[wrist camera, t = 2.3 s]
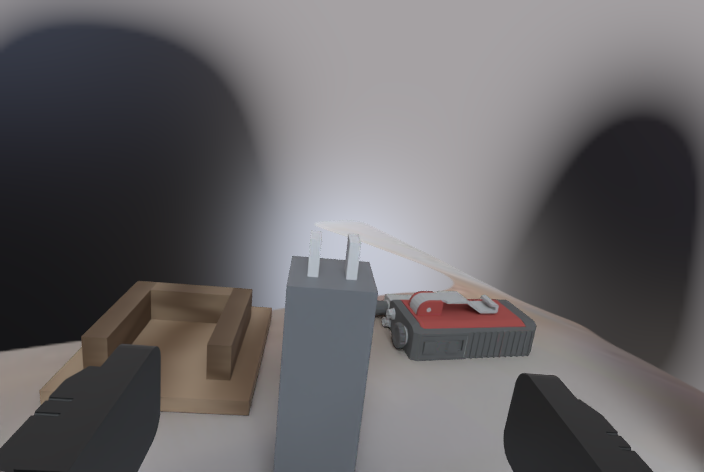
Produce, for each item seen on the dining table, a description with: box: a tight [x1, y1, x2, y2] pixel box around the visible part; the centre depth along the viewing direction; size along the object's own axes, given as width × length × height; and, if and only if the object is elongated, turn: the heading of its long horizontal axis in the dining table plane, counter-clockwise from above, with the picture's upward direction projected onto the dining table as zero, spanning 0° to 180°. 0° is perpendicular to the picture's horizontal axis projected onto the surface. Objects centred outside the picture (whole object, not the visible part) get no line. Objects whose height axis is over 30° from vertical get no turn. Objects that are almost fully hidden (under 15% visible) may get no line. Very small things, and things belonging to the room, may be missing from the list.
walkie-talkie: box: [375, 291, 536, 361], centre depth 40 cm, size 9×4×20 cm
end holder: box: [40, 281, 272, 415], centre depth 33 cm, size 12×13×4 cm
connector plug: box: [273, 231, 378, 472], centre depth 23 cm, size 4×4×13 cm
